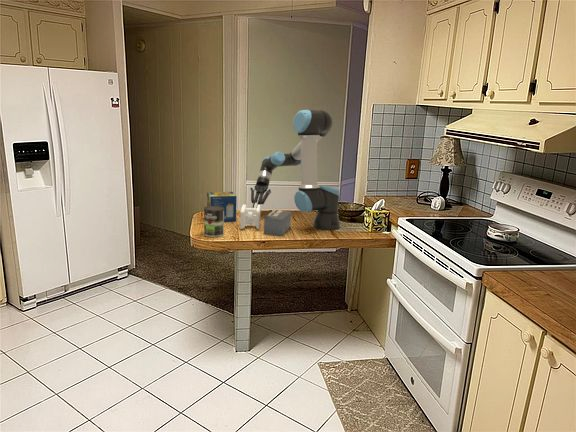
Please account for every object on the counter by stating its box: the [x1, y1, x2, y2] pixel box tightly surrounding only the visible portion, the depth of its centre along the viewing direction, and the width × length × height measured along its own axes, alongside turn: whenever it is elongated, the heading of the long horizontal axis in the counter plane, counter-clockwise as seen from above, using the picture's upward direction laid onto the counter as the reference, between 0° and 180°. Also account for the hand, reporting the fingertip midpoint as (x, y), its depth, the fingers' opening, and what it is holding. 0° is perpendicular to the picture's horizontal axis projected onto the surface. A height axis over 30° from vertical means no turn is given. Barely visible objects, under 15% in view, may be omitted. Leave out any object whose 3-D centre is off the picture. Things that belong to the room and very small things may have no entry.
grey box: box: [263, 209, 292, 237], centre depth 239 cm, size 10×18×10 cm, turn 166°
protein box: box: [206, 191, 238, 223], centre depth 254 cm, size 10×15×16 cm
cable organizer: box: [239, 203, 262, 230], centre depth 244 cm, size 15×11×12 cm
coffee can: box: [203, 205, 225, 238], centre depth 227 cm, size 10×10×14 cm
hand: (254, 213), depth 256 cm, fingers closed
